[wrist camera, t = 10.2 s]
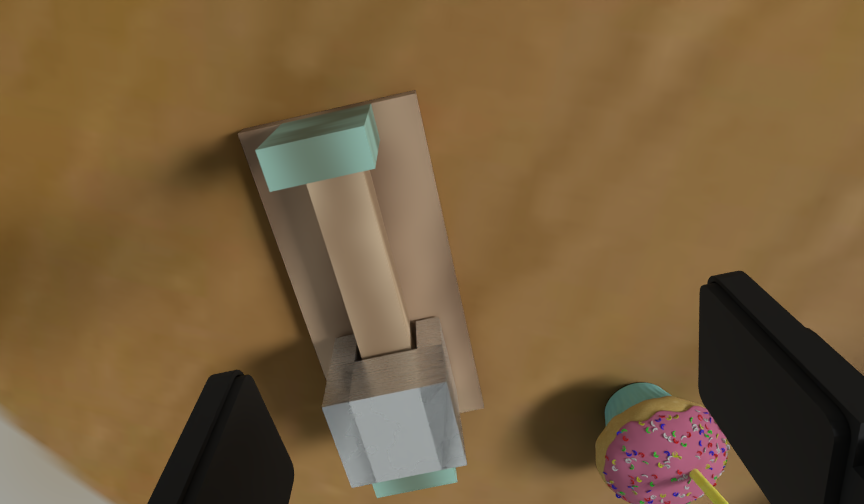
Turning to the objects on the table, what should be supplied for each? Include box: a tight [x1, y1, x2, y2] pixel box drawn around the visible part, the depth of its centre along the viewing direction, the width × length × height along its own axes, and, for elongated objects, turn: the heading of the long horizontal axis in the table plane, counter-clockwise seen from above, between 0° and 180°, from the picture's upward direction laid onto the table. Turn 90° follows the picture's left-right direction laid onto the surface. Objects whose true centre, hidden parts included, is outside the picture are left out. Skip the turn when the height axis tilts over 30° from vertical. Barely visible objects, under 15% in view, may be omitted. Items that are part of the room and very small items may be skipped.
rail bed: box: [238, 90, 484, 498], centre depth 32 cm, size 10×22×7 cm, turn 12°
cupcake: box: [595, 383, 730, 504], centre depth 36 cm, size 9×8×12 cm
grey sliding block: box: [322, 317, 467, 488], centre depth 34 cm, size 7×6×7 cm
